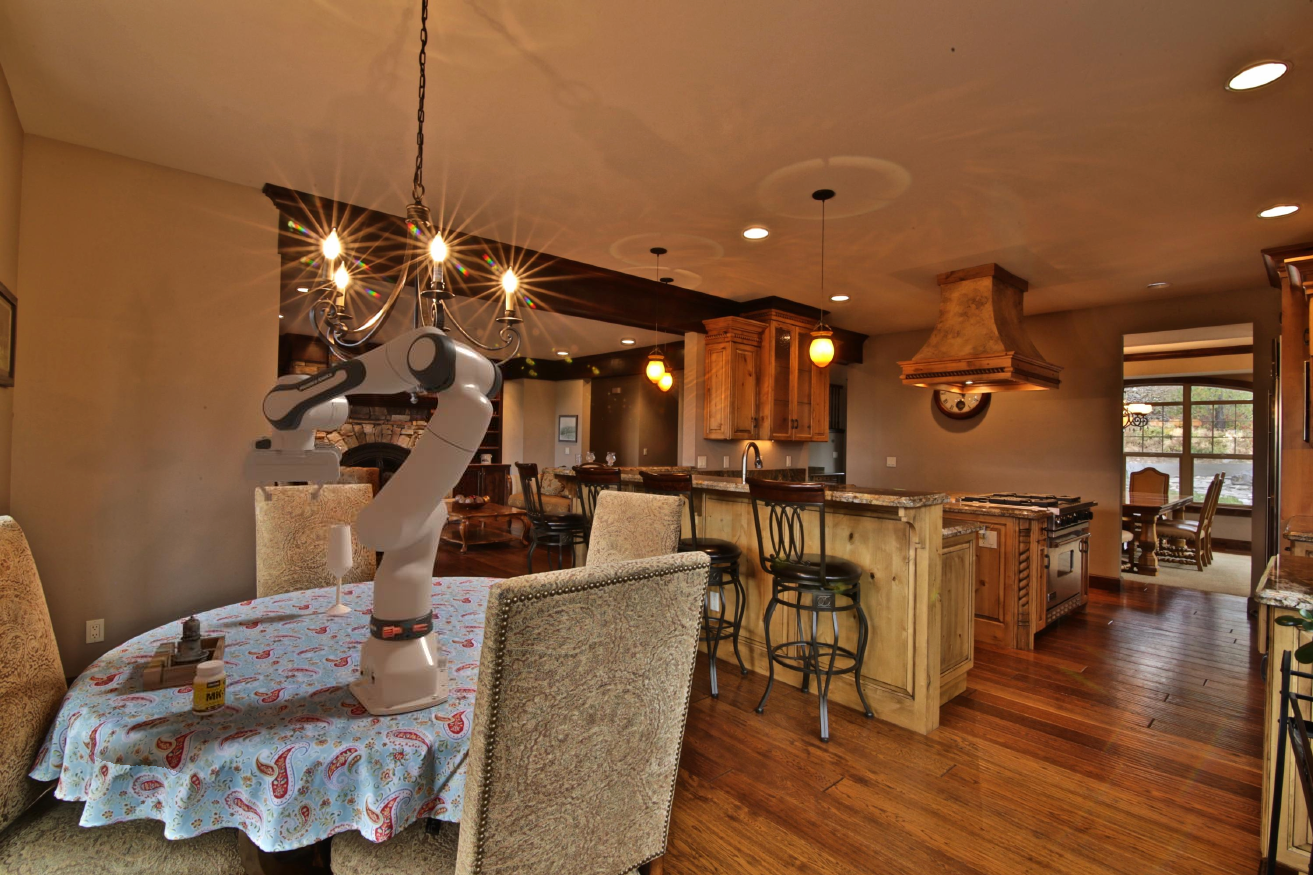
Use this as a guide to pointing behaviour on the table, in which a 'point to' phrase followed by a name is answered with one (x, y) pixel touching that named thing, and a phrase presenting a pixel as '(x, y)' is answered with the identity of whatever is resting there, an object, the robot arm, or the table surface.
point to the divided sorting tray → (168, 674)
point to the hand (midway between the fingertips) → (291, 500)
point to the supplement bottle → (209, 688)
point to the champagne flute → (339, 561)
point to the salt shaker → (191, 644)
